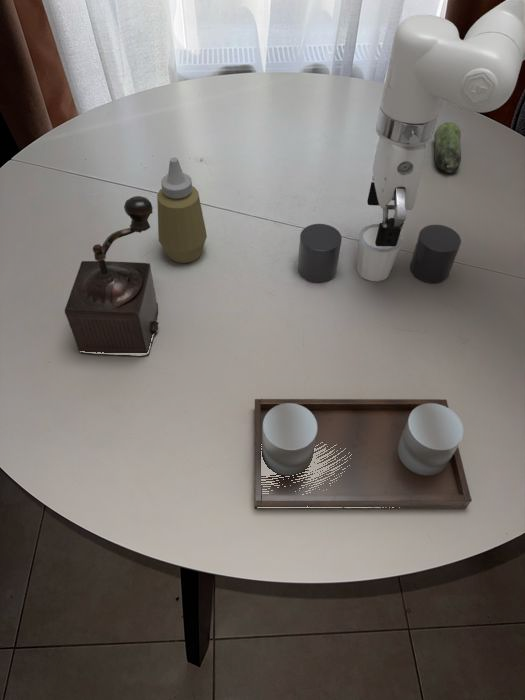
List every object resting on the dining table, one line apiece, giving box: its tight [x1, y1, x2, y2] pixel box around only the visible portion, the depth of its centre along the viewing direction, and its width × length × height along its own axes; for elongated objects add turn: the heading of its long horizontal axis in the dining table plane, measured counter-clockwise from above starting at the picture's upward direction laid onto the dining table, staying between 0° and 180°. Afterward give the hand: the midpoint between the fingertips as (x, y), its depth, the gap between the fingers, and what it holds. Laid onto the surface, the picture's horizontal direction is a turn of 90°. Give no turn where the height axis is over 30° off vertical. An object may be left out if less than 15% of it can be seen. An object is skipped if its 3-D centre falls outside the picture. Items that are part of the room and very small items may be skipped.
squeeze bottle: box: [156, 156, 208, 264], centre depth 92 cm, size 8×8×18 cm
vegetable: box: [433, 121, 462, 174], centre depth 117 cm, size 14×5×5 cm, turn 170°
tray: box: [254, 398, 472, 509], centre depth 73 cm, size 26×15×7 cm, turn 91°
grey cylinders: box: [296, 223, 462, 285], centre depth 95 cm, size 26×7×7 cm, turn 91°
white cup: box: [356, 223, 403, 282], centre depth 95 cm, size 7×7×7 cm
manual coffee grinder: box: [64, 195, 159, 353], centre depth 83 cm, size 16×11×18 cm
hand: (381, 224), depth 90 cm, fingers open, 9 cm apart
